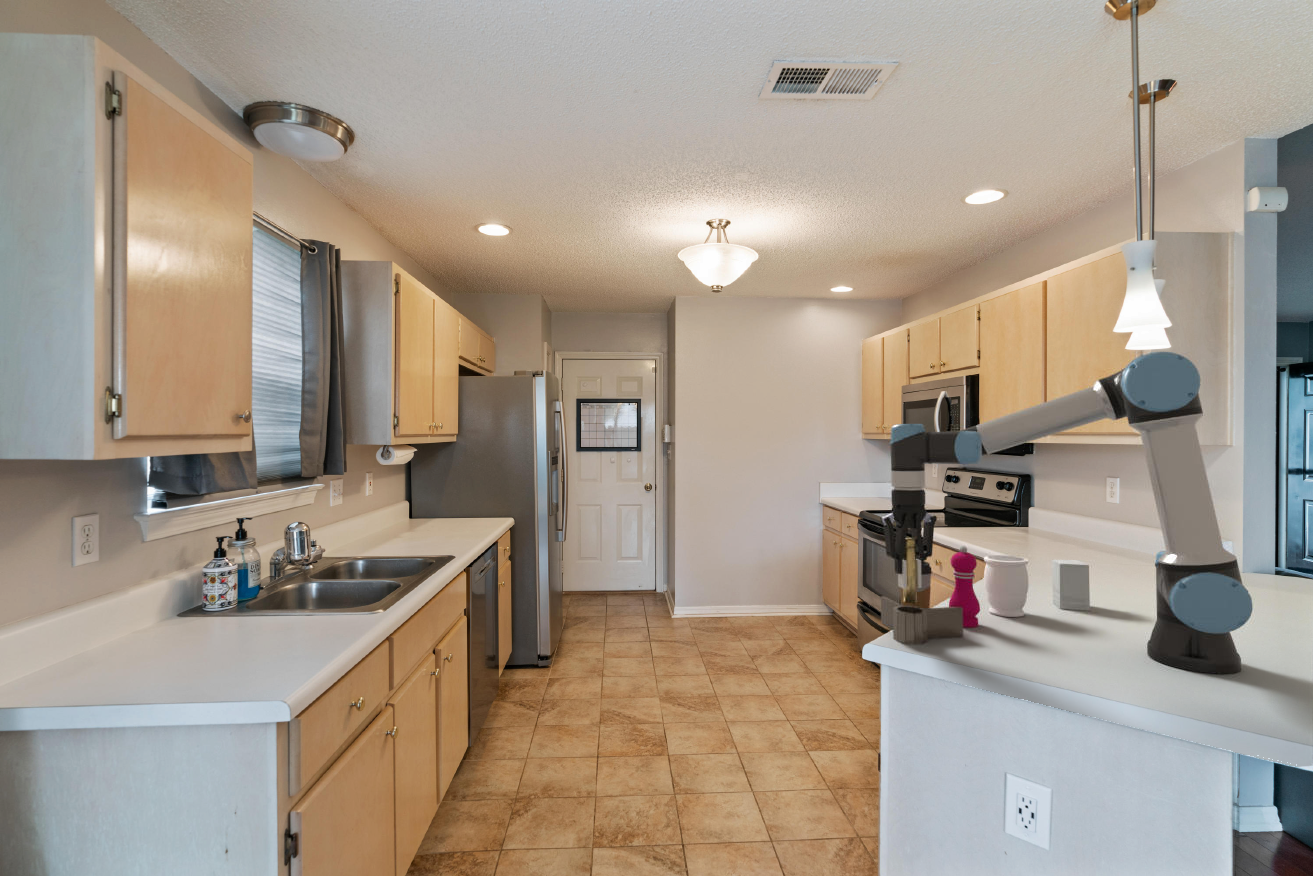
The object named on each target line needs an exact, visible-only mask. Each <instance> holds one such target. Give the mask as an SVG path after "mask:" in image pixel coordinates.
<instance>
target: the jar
mask: <svg viewBox="0 0 1313 876" xmlns="http://www.w3.org/2000/svg"><path fill="white" fill-rule="evenodd" d="M983 561H984V562H985V567H984V573H983V583H984V584H983V585H984V589H985V595H986V598H987V601H988V604H989V605H990V607H989V609H988V612H989V613H990V614H992V615H996V616H999V617H1007V618H1019V617H1023V616H1025V611H1024V610H1023V608H1024V607H1025V605H1026V602H1027V597H1028V592H1029V583H1030V582H1029V573H1028V570H1027V565H1028V564H1029V560H1028V559H1027V558H1026V557H1025V558H1024V557H1020V556H1012V555H1001V554H1000V555H999V554H998V555H995V554H994V555H986V556H984V557H983Z"/></svg>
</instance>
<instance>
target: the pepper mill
mask: <svg viewBox="0 0 1313 876" xmlns="http://www.w3.org/2000/svg"><path fill="white" fill-rule="evenodd" d="M977 563H978V561H977V559H976V557H975V556H974V555H973V554H972V553H970V552H968V548H967V547H966V546H964V545H962V546H960V547H959V552H956V553H954V554H952V556H951V558H950V565H951V567H952V568H953V571H952V577H954V580H955V583H954V589H953V591H952V594H951V596H950V598H949V601H948V607H962V608H963V628H975V627H976V628H977V627H978V626H979V617H977V616H978V614H979V613H980V612H981V605H980V602H979V599H978V597H977V595H976V593H975V589H974V585H973V582H974V578H975V572H974V570H975V569H976V568H977V565H978V564H977Z"/></svg>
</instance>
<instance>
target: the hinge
mask: <svg viewBox="0 0 1313 876" xmlns="http://www.w3.org/2000/svg"><path fill="white" fill-rule="evenodd" d="M880 624H882V625H883V626H885V627H886V628H888V629H890V630H892V633H893V637H892V639H893V640H895V641H896V642H899V643H901V644H907V645H908V644H909V645H924V644H926V643H928V640H931V639H932V640H933V639H949V638H950V639H951V638H963V637H964V627H963V608H962V607H949V606H947V607H945V606H944V607H943V606H942V607H929V608H924V609H923V608H920V607H915V606H903V605H901V603H900V602H897V601H895V600H893V599H891V598H890V597H889V598H888V597H886V596H884V595H883V596H880Z"/></svg>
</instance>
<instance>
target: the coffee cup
mask: <svg viewBox="0 0 1313 876" xmlns="http://www.w3.org/2000/svg"><path fill="white" fill-rule="evenodd" d="M932 574H933V571H932V567H931V565H930V562H928V561H924V573H921V587H922V588H917V587H916V591H917V602H916V603H906V602H903V588H901V587H899V593H900V594H899V595H900V604H901V605H903V606H915V607H920V608H923V609H924V608H931V607H930V604H931V591H932V590H931V581H932V580H931V578H932Z"/></svg>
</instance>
